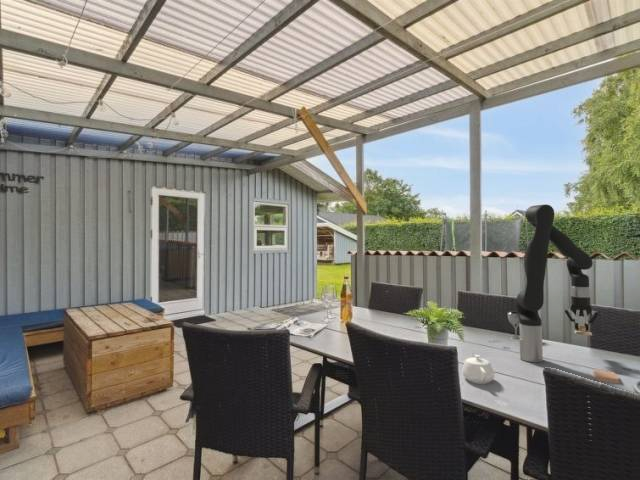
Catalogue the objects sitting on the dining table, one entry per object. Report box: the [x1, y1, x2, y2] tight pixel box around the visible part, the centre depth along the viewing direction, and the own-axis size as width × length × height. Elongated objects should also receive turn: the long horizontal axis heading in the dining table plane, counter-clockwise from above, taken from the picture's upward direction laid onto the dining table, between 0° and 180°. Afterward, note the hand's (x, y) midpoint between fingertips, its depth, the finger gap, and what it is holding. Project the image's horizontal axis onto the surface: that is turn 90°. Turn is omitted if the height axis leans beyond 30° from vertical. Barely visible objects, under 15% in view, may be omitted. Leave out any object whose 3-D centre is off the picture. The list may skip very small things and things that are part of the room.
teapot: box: [461, 353, 495, 385], centre depth 141 cm, size 20×12×10 cm, turn 170°
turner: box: [574, 324, 593, 336], centre depth 162 cm, size 6×16×4 cm, turn 147°
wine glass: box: [507, 310, 520, 340], centre depth 198 cm, size 8×8×15 cm
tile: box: [592, 368, 620, 385], centre depth 138 cm, size 7×2×8 cm
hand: (581, 330), depth 163 cm, fingers closed on turner, 2 cm apart
